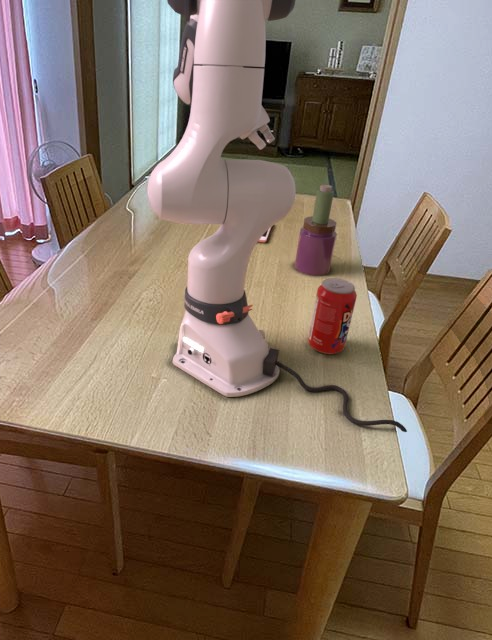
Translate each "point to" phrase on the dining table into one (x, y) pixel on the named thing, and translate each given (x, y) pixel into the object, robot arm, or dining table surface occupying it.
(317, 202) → the green shaker
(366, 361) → the dining table surface
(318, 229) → the plum jar
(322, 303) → the soda can
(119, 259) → the dining table surface
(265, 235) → the cell phone
